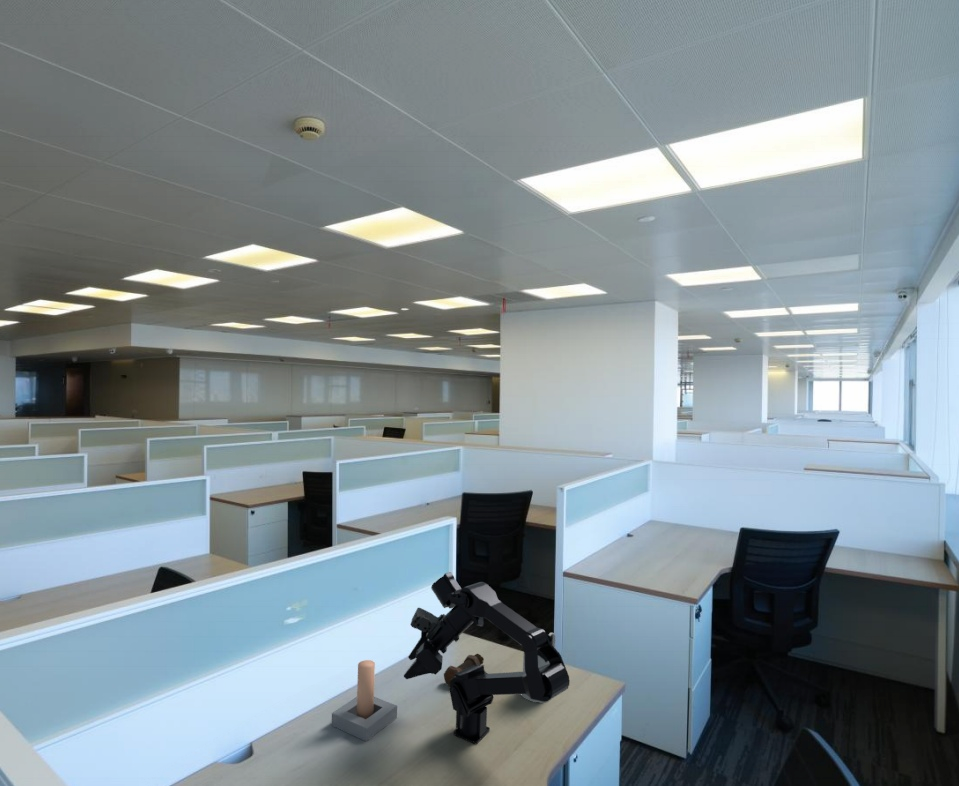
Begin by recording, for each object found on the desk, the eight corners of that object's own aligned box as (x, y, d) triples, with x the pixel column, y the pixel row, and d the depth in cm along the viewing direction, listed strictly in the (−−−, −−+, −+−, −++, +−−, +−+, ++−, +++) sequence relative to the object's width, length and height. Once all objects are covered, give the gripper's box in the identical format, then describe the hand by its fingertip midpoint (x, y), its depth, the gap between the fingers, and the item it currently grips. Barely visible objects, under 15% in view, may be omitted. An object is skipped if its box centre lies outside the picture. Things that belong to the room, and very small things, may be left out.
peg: (376, 720, 136) (378, 663, 136) (365, 728, 132) (367, 669, 132) (364, 715, 138) (365, 658, 138) (352, 723, 134) (354, 665, 134)
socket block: (396, 717, 137) (397, 705, 137) (366, 741, 128) (366, 728, 128) (362, 703, 143) (363, 692, 143) (331, 725, 133) (331, 713, 133)
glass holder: (514, 695, 149) (516, 639, 149) (539, 674, 161) (540, 622, 161) (544, 706, 144) (545, 648, 144) (567, 683, 156) (568, 630, 156)
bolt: (481, 672, 165) (453, 693, 152) (469, 659, 167) (440, 679, 154) (490, 657, 163) (463, 677, 150) (478, 644, 166) (450, 663, 153)
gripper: (434, 585, 144) (390, 627, 144) (428, 614, 125) (377, 662, 125) (463, 616, 144) (419, 658, 144) (462, 650, 126) (411, 698, 126)
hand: (407, 667), depth 135 cm, fingers open, 9 cm apart
